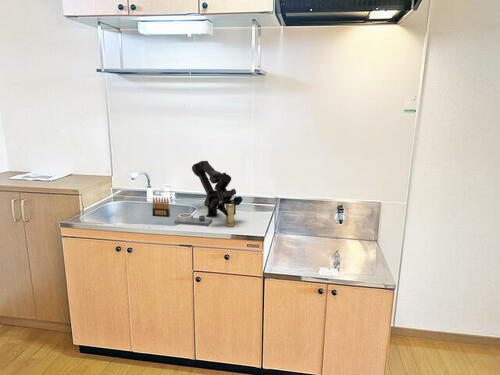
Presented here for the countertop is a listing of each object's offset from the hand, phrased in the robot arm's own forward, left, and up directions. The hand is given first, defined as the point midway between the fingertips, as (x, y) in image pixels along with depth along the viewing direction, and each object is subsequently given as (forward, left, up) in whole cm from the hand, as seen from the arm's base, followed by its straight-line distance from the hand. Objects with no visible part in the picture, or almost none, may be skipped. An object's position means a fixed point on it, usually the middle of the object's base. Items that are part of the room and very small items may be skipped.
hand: (231, 215), depth 208 cm
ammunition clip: (-10, -46, -7) cm, 48 cm away
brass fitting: (-1, -1, -7) cm, 7 cm away
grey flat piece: (-3, -23, -7) cm, 24 cm away
